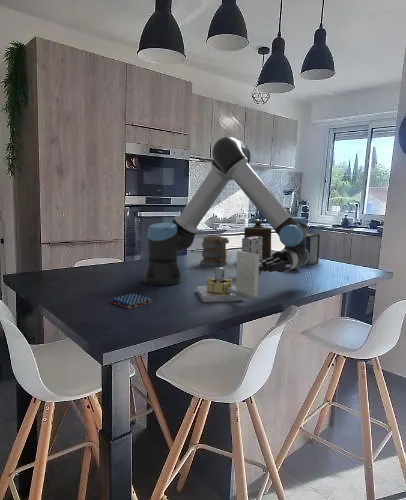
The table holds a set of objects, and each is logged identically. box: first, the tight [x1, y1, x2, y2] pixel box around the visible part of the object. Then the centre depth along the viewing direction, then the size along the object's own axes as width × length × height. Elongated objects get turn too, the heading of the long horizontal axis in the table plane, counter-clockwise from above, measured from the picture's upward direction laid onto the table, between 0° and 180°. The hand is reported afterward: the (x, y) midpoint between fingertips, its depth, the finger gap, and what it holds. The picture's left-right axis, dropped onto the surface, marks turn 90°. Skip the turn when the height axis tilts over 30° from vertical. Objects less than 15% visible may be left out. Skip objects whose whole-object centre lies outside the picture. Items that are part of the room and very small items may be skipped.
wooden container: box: [243, 220, 272, 260], centre depth 202 cm, size 15×15×22 cm
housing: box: [195, 266, 245, 303], centre depth 129 cm, size 14×14×10 cm
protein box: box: [284, 232, 321, 266], centre depth 201 cm, size 10×15×16 cm
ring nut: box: [206, 250, 260, 301], centre depth 123 cm, size 22×8×15 cm, turn 36°
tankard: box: [200, 235, 230, 268], centre depth 187 cm, size 20×13×15 cm, turn 25°
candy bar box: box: [241, 236, 263, 258], centre depth 170 cm, size 11×5×16 cm, turn 143°
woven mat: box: [109, 292, 154, 310], centre depth 121 cm, size 10×11×2 cm
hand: (249, 269), depth 118 cm, fingers closed
